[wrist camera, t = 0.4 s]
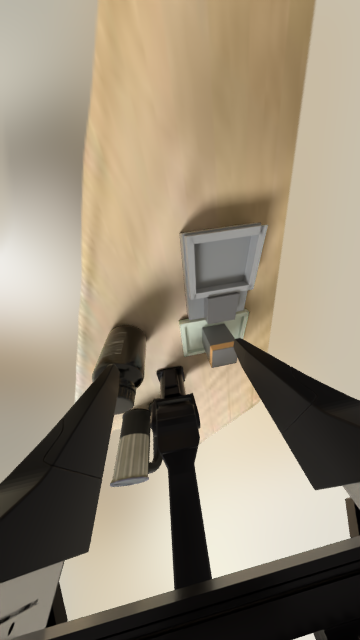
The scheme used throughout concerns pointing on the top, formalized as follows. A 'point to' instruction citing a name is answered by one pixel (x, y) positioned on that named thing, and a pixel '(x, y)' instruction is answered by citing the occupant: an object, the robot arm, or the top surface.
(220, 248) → the grey storage bin
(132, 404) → the supplement bottle
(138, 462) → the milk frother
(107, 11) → the top surface
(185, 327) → the tray
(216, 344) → the plug
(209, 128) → the top surface
